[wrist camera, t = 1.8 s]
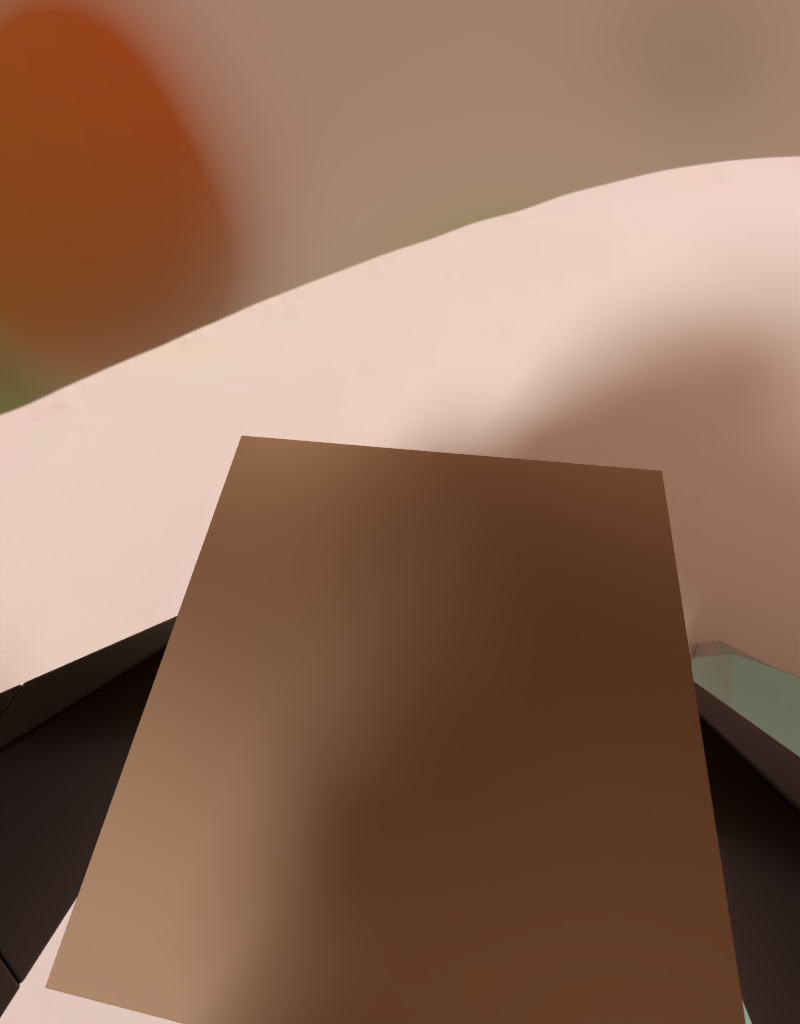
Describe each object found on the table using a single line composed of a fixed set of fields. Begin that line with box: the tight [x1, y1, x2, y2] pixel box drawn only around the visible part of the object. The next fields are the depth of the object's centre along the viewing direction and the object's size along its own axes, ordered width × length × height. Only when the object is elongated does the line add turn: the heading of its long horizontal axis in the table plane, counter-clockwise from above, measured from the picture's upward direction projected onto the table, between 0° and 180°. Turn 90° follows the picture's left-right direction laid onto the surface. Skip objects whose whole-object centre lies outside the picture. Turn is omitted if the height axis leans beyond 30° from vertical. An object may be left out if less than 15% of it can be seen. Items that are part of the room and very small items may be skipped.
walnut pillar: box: [45, 436, 746, 1024], centre depth 9 cm, size 5×5×12 cm
